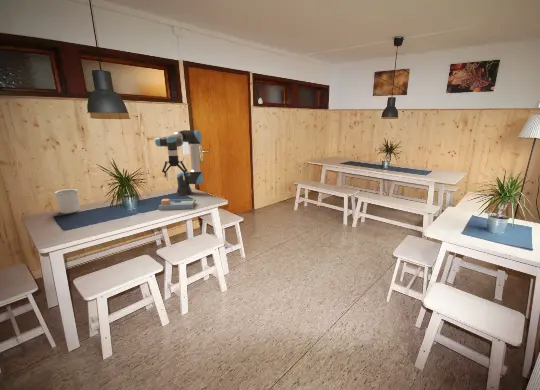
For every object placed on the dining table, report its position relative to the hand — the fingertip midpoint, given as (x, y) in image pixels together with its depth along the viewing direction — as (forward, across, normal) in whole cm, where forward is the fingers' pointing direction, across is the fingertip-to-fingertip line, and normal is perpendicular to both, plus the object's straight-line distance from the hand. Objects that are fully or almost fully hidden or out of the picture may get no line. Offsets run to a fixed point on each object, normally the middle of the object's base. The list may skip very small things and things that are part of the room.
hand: (175, 180), depth 222 cm
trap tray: (+25, -2, +5) cm, 26 cm away
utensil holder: (+25, -90, +6) cm, 93 cm away
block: (+23, -12, +5) cm, 26 cm away
